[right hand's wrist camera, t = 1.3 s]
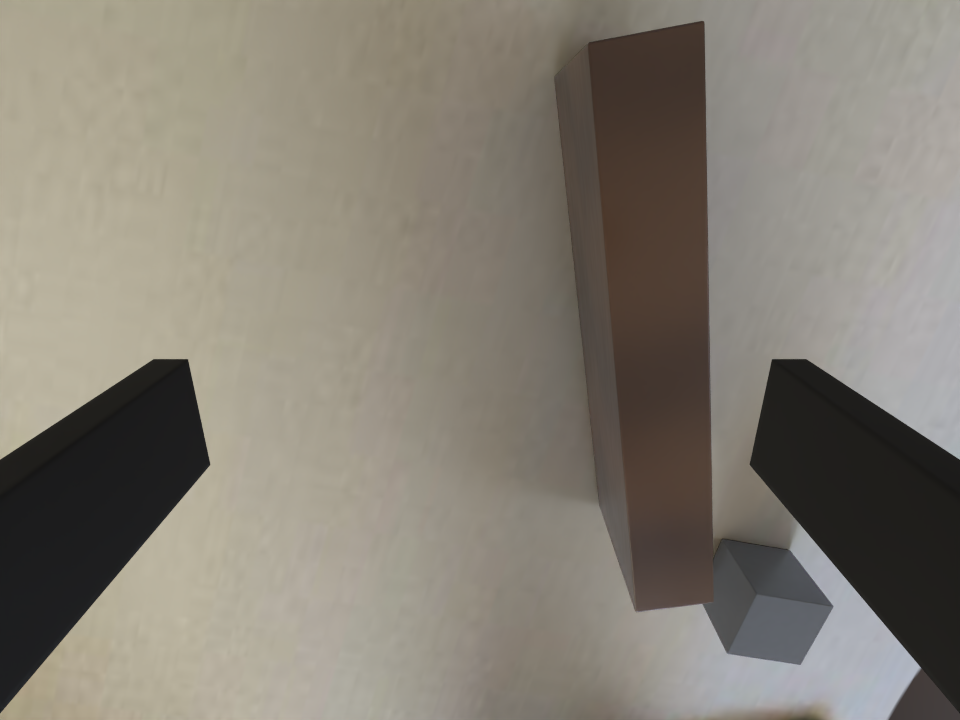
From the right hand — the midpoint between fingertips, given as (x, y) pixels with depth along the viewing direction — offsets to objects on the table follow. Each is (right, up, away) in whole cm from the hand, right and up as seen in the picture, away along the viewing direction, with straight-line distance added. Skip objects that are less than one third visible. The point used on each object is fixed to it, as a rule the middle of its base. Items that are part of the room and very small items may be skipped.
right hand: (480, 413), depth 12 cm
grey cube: (+19, -14, +26) cm, 35 cm away
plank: (+8, +4, +19) cm, 21 cm away
